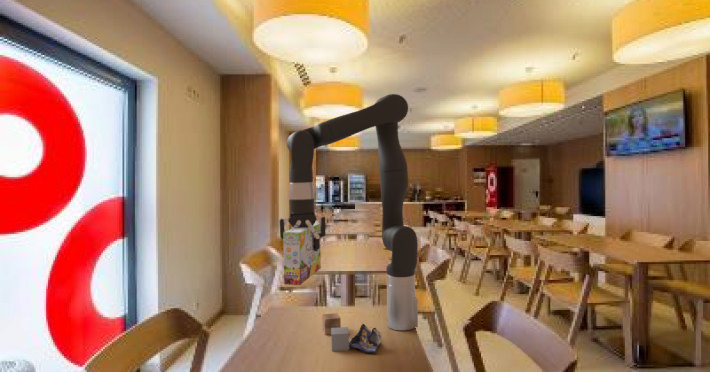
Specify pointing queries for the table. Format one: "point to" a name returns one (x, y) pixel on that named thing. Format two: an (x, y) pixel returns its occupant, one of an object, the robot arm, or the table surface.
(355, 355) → the table surface
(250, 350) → the table surface
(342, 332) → the slate block
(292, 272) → the snack box
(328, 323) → the walnut block
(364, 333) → the snack package
